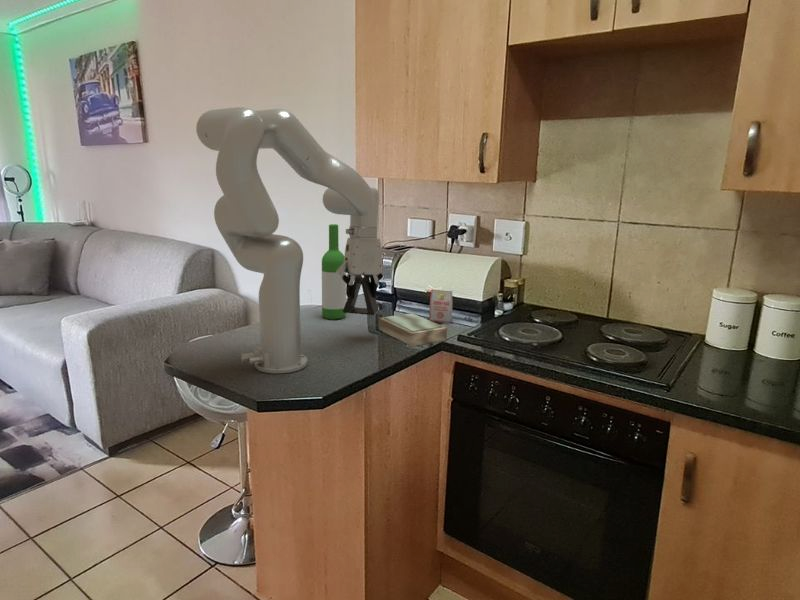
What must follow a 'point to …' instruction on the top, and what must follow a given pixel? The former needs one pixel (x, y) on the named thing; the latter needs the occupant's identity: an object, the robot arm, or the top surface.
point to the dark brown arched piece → (367, 291)
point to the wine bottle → (333, 279)
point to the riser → (412, 329)
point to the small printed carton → (440, 306)
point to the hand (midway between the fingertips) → (361, 297)
